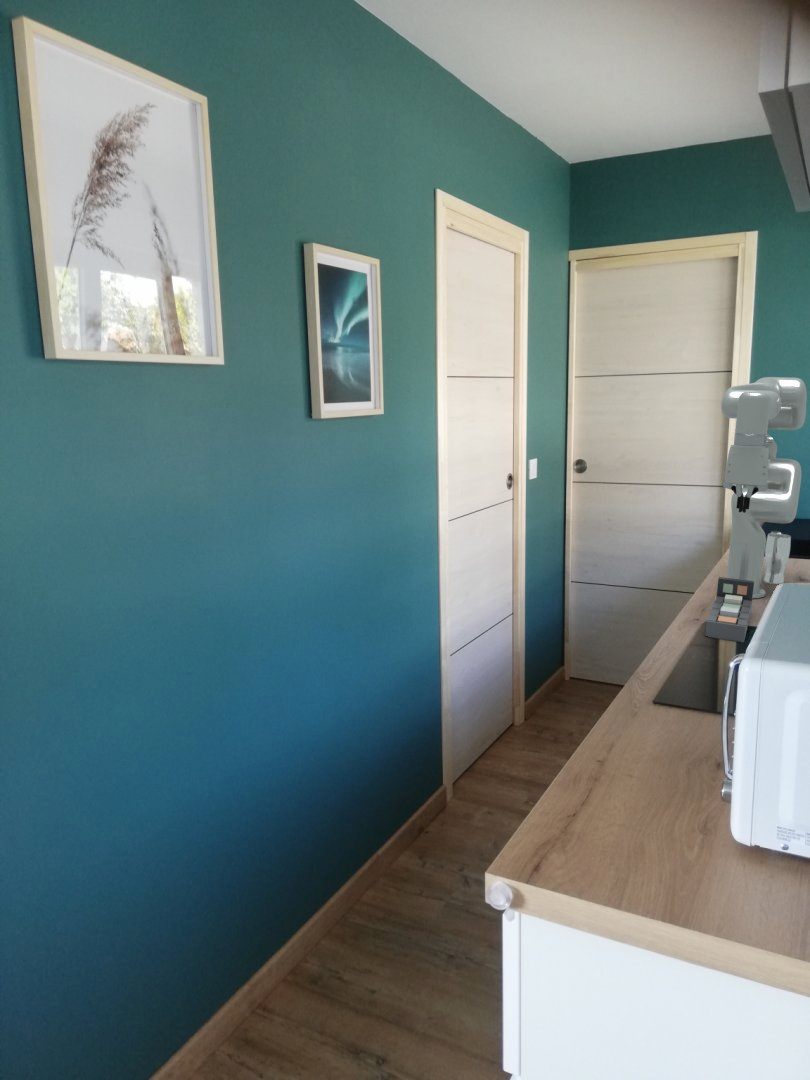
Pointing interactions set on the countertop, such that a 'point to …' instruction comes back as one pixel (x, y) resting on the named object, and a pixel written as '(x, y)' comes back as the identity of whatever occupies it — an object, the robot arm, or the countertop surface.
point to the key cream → (733, 599)
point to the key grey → (729, 611)
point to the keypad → (737, 589)
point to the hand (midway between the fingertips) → (742, 511)
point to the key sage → (731, 606)
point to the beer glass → (776, 557)
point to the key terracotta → (727, 620)
